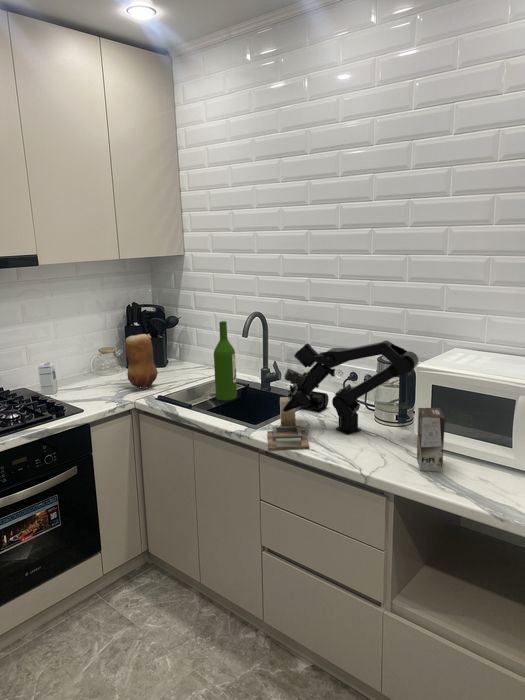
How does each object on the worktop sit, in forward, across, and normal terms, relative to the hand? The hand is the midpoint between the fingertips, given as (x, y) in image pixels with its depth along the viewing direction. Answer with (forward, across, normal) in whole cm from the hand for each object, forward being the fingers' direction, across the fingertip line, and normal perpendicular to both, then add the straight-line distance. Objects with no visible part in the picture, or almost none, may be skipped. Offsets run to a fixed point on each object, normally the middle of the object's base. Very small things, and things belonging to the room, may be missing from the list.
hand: (283, 408), depth 187 cm
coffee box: (-23, +34, +34) cm, 54 cm away
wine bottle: (+21, -38, -11) cm, 45 cm away
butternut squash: (+49, -57, -38) cm, 84 cm away
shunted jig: (+5, +13, +5) cm, 14 cm away
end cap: (-4, -20, +14) cm, 25 cm away
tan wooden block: (+4, 0, +6) cm, 7 cm away
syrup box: (+77, -50, -67) cm, 114 cm away
